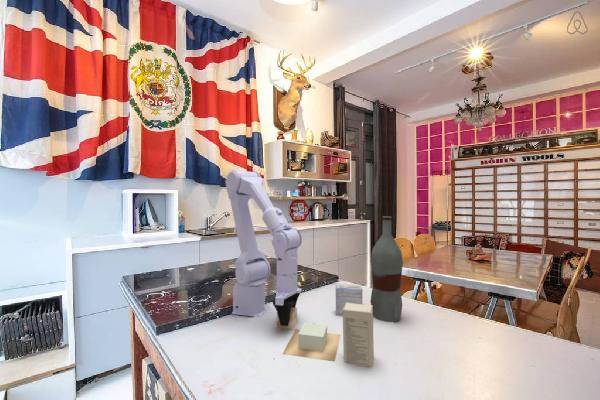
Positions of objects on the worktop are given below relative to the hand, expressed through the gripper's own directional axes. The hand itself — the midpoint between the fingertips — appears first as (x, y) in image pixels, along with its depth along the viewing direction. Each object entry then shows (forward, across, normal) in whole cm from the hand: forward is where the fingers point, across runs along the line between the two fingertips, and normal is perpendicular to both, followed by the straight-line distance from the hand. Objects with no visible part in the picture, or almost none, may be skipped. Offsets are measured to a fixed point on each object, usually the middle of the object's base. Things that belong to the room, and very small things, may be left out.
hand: (287, 321), depth 81 cm
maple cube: (+1, 0, 0) cm, 1 cm away
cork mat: (+1, -8, -9) cm, 12 cm away
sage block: (+1, -8, -9) cm, 12 cm away
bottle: (+2, +13, -27) cm, 30 cm away
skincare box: (+2, -12, -20) cm, 23 cm away
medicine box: (+2, +12, -16) cm, 20 cm away
